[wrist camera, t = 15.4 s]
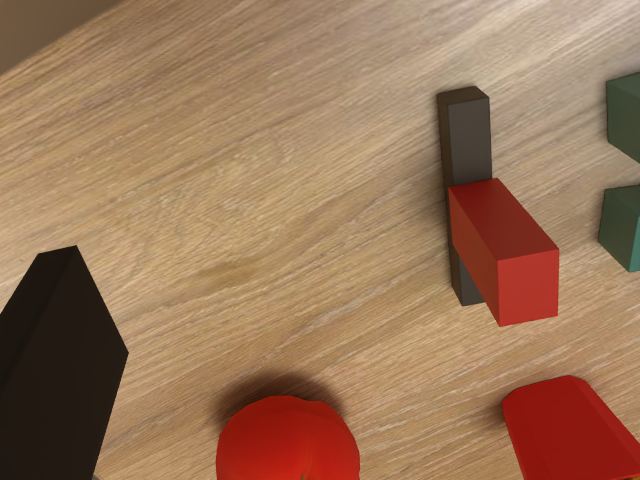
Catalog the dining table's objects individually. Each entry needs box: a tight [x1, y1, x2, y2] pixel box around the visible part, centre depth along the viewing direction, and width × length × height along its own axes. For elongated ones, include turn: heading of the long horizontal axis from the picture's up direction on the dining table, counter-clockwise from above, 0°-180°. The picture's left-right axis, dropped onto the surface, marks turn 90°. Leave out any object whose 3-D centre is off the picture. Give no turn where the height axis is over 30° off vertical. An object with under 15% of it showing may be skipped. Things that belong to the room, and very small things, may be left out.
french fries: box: [502, 375, 640, 480], centre depth 43 cm, size 9×4×13 cm, turn 105°
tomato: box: [216, 395, 360, 480], centre depth 43 cm, size 11×11×9 cm
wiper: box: [437, 86, 559, 327], centre depth 34 cm, size 3×14×11 cm, turn 10°
